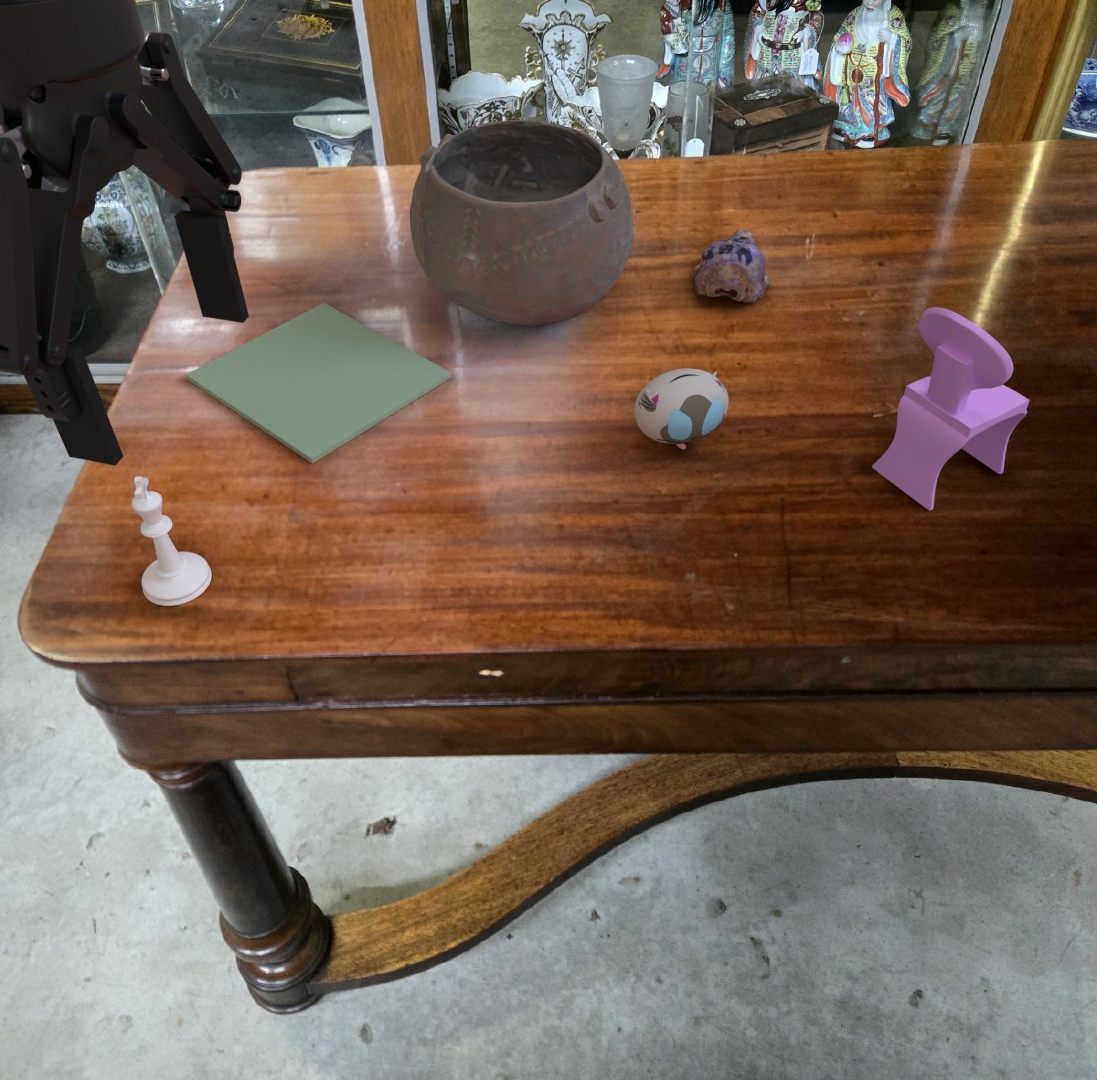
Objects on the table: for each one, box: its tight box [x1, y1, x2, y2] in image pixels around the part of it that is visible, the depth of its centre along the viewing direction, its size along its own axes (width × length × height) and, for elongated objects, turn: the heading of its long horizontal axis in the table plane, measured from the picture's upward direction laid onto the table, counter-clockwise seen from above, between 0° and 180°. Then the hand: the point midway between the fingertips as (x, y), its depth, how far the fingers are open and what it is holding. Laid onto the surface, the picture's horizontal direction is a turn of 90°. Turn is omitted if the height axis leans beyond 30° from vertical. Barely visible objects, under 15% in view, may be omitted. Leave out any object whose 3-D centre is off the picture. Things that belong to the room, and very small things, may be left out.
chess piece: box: [131, 476, 213, 607], centre depth 73 cm, size 5×5×10 cm
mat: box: [185, 302, 452, 465], centre depth 94 cm, size 16×18×1 cm
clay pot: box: [409, 119, 635, 327], centre depth 98 cm, size 21×21×15 cm
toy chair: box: [871, 306, 1031, 512], centre depth 79 cm, size 8×9×15 cm
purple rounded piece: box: [689, 229, 772, 304], centre depth 103 cm, size 12×8×6 cm, turn 154°
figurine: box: [633, 367, 730, 450], centre depth 85 cm, size 8×6×7 cm
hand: (166, 381), depth 58 cm, fingers open, 13 cm apart
